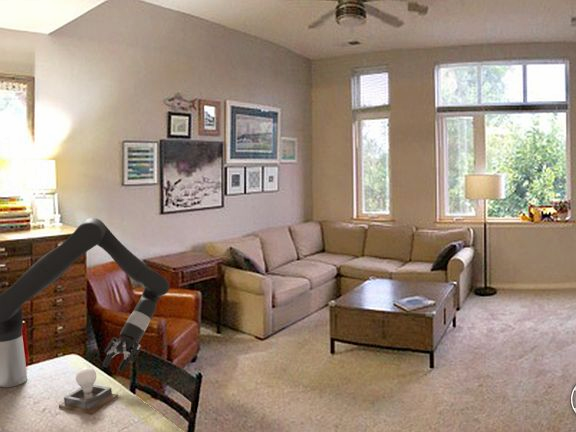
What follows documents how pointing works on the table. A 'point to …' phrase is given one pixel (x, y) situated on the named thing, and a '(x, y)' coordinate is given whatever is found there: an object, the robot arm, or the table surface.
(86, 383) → the lightbulb
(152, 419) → the table surface
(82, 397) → the bulb stand
